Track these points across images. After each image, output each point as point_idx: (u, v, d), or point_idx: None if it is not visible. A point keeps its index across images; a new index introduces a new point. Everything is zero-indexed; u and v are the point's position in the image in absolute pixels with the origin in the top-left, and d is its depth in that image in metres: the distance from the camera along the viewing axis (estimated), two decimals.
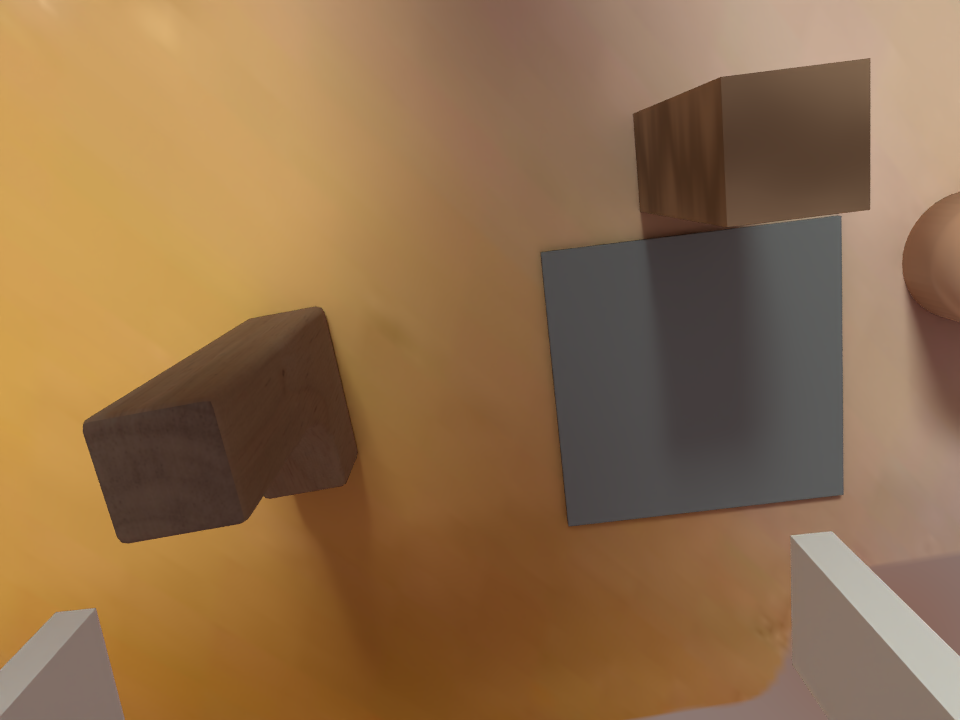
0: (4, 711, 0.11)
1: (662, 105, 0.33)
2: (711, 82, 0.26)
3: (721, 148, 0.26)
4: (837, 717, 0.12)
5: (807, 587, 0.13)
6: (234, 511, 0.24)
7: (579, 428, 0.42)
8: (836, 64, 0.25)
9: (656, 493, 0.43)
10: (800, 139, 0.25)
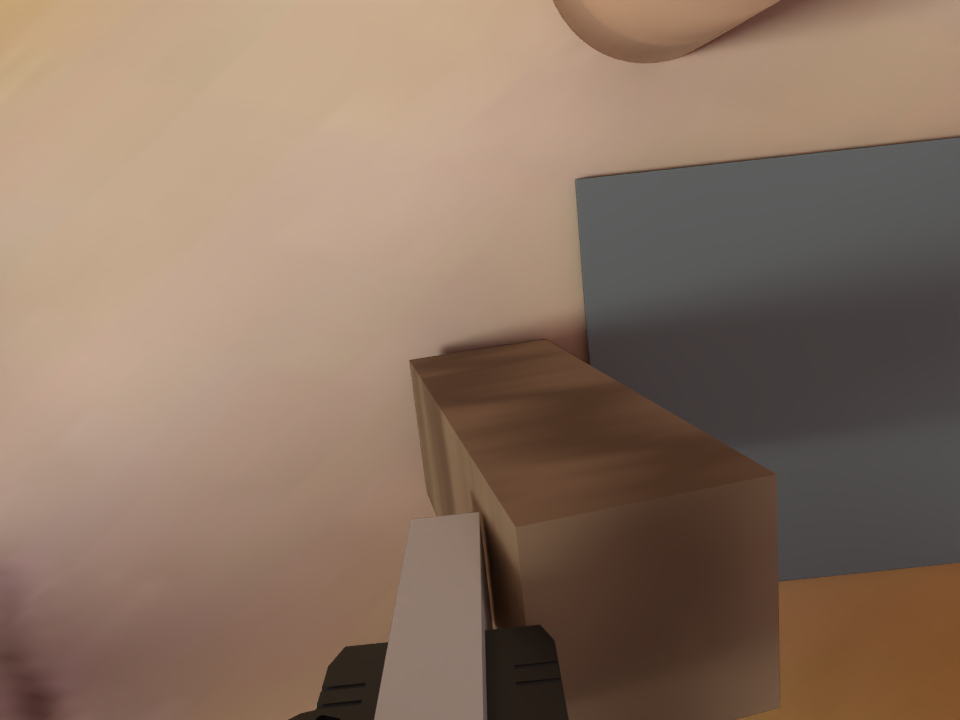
0: (440, 583, 0.13)
1: None
2: None
3: None
4: None
5: None
6: None
7: (867, 544, 0.29)
8: (526, 587, 0.13)
9: None
10: (648, 621, 0.14)
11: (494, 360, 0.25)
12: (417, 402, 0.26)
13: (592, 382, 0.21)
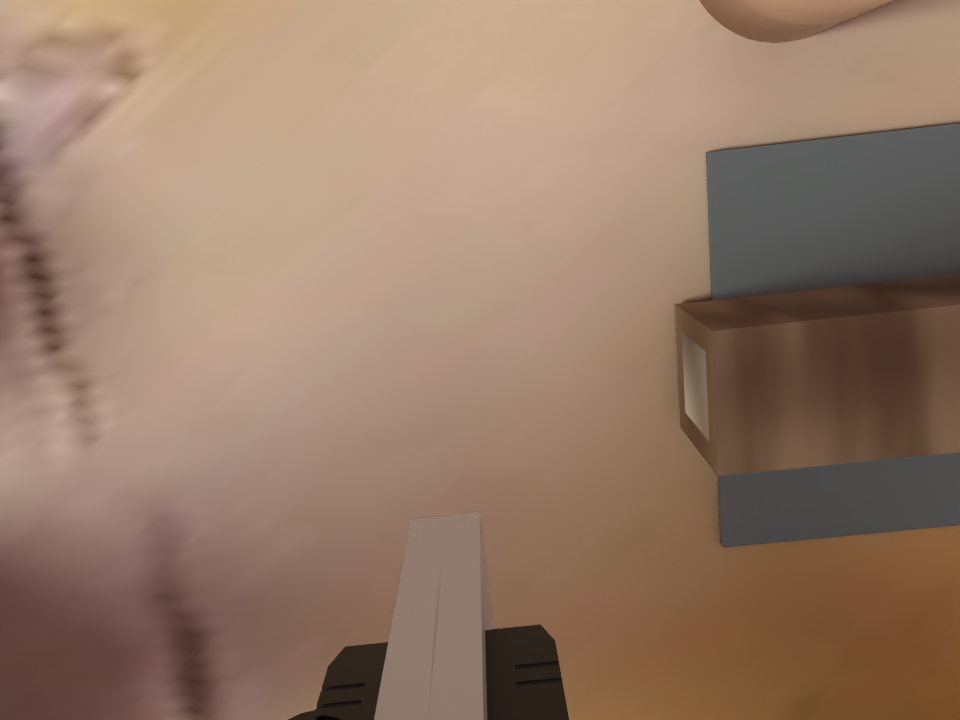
0: (440, 583, 0.13)
1: (899, 456, 0.25)
2: None
3: None
4: None
5: None
6: None
7: None
8: None
9: None
10: None
11: (748, 309, 0.26)
12: (741, 367, 0.24)
13: (849, 288, 0.28)
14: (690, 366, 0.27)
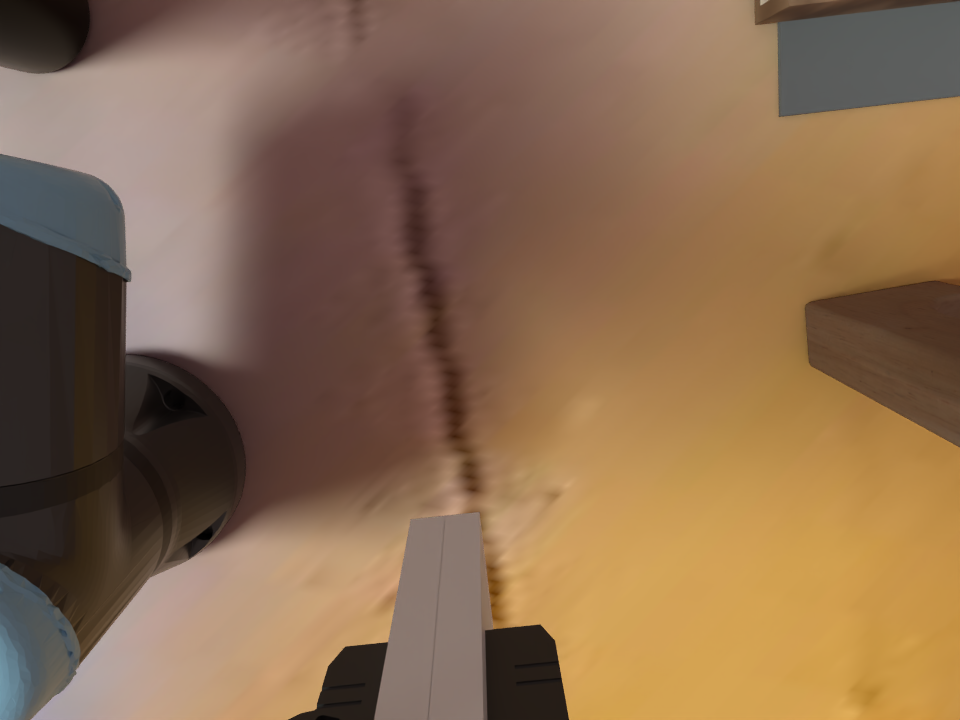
0: (440, 583, 0.13)
1: None
2: None
3: None
4: None
5: None
6: None
7: (944, 77, 0.46)
8: None
9: None
10: None
11: None
12: None
13: None
14: None
